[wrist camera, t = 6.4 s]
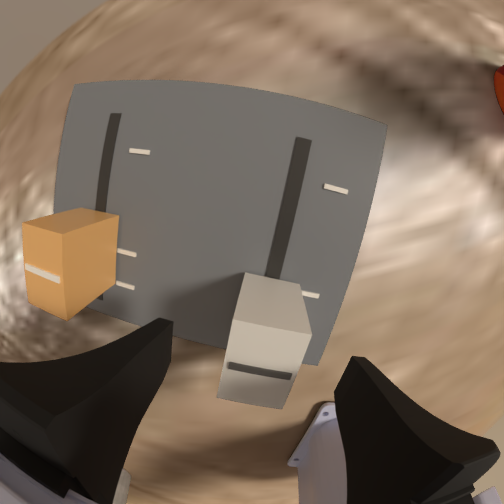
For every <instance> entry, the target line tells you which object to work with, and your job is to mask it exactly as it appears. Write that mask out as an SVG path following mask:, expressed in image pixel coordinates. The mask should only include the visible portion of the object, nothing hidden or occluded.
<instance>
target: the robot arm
mask: <svg viewBox="0 0 504 504" xmlns="http://www.w3.org/2000/svg"><path fill="white" fill-rule="evenodd" d="M173 323H174V321H170V320H167V319H163V318H160V317H159V318H157V319H155V320H153V321H152V322H150V323H148V324H146V325H144V326H143V327H141V328H139V329H137V330H135V331H134V332H132V333H130V334H128V335H126V336H124V337H122V338H120V339H118V340H116V341H113V342H111V343H109V344H107V345H105V346H102V347H100V348H97V349H94V350H91V351H88V352H85V353H82V354H79V355H75V356H70V357H66V358H61V359H57V360H50V361H43V362H31V363H6V362H0V504H113V500H114V496H115V492H116V489H117V485H118V482H119V478H120V475H121V472H122V469H123V466H124V463H125V460H126V457H127V454H128V451H129V448H130V446H131V443H132V441H133V438H134V435H135V433H136V430H137V428H138V426H139V424H140V422H141V420H142V418H143V416H144V414H145V412H146V411H147V409H148V407H149V405H150V403H151V402H152V400H153V398H154V396H155V395H156V393H157V391H158V389H159V387H160V385H161V384H162V382H163V380H164V377H165V375H166V372H167V370H168V367H169V364H170V362H171V349H172V335H173ZM334 398H335V403H331V402H327V403H324V404H323V405H322V406H321V407H320V409H319V411H318V413H317V414H316V416H315V418H314V420H313V421H312V423H311V425H310V427H309V428H308V430H307V432H306V433H305V435H304V437H303V438H302V440H301V442H300V443H299V445H298V446H297V448H296V450H295V451H294V453H293V454H292V456H291V457H290V459H289V460H288V466H291V467H298V489H299V504H502V502H501V500H500V497H499V495H498V493H497V490H496V488H495V486H493V487H491V488H489V489H487V490H485V491H483V492H481V493H480V494H478V495H476V496H475V497H473V498H472V496H471V494H470V493H472V492H473V491H474V490H475V488H474V486H473V483H474V482H476V481H477V480H478V479H479V478H480V477H481V476H482V475H484V474H485V473H486V472H487V471H488V470H489V469H490V468H491V467H492V466H493V465H494V464H495V463H496V461H497V460H498V459H499V457H500V451H499V449H498V447H497V446H496V444H495V442H494V441H493V440H491V439H487V438H483V437H480V436H476V435H473V434H470V433H468V432H465V431H463V430H460V429H458V428H456V427H454V426H452V425H450V424H448V423H446V422H444V421H442V420H440V419H439V418H437V417H435V416H434V415H432V414H431V413H429V412H428V411H426V410H425V409H423V408H422V407H421V406H419V405H418V404H417V403H415V402H414V401H413V400H412V399H410V398H409V397H408V396H407V395H406V394H404V393H403V392H402V391H401V390H400V389H399V388H398V387H397V386H396V385H394V384H393V383H392V382H391V381H390V380H389V379H388V378H387V377H386V376H385V375H384V374H383V373H382V372H381V371H380V370H379V369H378V368H377V367H375V366H374V365H373V364H372V363H371V362H370V361H369V360H367V359H366V358H365V357H357V356H352V357H351V359H350V361H349V363H348V365H347V367H346V369H345V371H344V373H343V375H342V377H341V379H340V381H339V383H338V385H337V387H336V389H335V391H334ZM324 412H325V413H324Z"/></svg>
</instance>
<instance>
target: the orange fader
mask: <svg viewBox="0 0 504 504" xmlns="http://www.w3.org/2000/svg"><path fill="white" fill-rule="evenodd" d="M118 224H119V215H115V214H110V213H105V212H100V211H95V210H91V209H86V208H77V209H73V210H68V211H64V212H60V213H56V214H52V215H49V216H45V217H41V218H37V219H34V220H30V221H27V222H23V223H22V232H23V256H24V269H25V279H26V287H27V294H28V301H29V303H30V304H32V305H34V306H36V307H38V308H40V309H42V310H44V311H46V312H48V313H50V314H52V315H55V316H57V317H59V318H61V319H63V320H65V321H68V320H69V319H71V318H72V317H73V316H74V315H76V314H77V313H78V312H79V311H81V310H82V309H83V308H84V307H86V306H87V305H88V304H89V303H91V302H92V301H93V300H95V299H96V298H97V297H98V296H100V295H101V294H102V293H104V292H105V291H106V290H108V289H109V288H110V287H111V286H113V285H114V284H115V279H116V252H117V236H118Z"/></svg>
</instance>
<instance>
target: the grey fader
mask: <svg viewBox="0 0 504 504" xmlns="http://www.w3.org/2000/svg"><path fill="white" fill-rule="evenodd" d="M311 337H312V332H311V328H310V324H309V319H308V315H307V311H306V307H305V303H304V299H303V295H302V291H301V287H300V284H297V283H292V282H287V281H283V280H278V279H273V278H269V277H264V276H259V275H255V274H250V273H246V272H245V275H244V279H243V282H242V286H241V290H240V294H239V298H238V301H237V305H236V309H235V313H234V316H233V320H232V325H231V330H230V335H229V340H228V345H227V349H226V354H225V359H224V364H223V369H222V374H221V379H220V383H219V388H218V393H217V398H221V399H225V400H230V401H235V402H240V403H245V404H251V405H257V406H263V407H269V408H276V409H282V408H283V406H284V404H285V402H286V399H287V397H288V395H289V392H290V390H291V388H292V385H293V383H294V380H295V378H296V375H297V373H298V370H299V368H300V365H301V363H302V360H303V358H304V355H305V353H306V350H307V347H308V345H309V342H310V339H311Z"/></svg>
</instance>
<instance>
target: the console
mask: <svg viewBox="0 0 504 504" xmlns="http://www.w3.org/2000/svg"><path fill="white" fill-rule="evenodd" d="M386 132H387V125H386V124H383V123H381V122H378V121H375V120H372V119H370V118H367V117H364V116H361V115H358V114H355V113H352V112H349V111H346V110H342V109H339V108H336V107H332V106H329V105H325V104H322V103H318V102H314V101H310V100H306V99H302V98H298V97H293V96H289V95H284V94H279V93H274V92H269V91H264V90H258V89H252V88H246V87H239V86H232V85H224V84H215V83H205V82H192V81H175V80H119V81H103V82H91V83H81V84H75V85H74V88H73V92H72V95H71V99H70V103H69V107H68V111H67V116H66V120H65V125H64V130H63V135H62V140H61V146H60V152H59V159H58V167H57V175H56V185H55V197H54V214H56V213H60V212H64V211H68V210H73V209H77V208H86V209H91V210H95V211H100V212H105V213H110V214H115V215H119V224H118V236H117V252H116V279H115V284H114V285H113V286H111V287H110V288H109V289H108V290H106V291H105V292H104V293H102V294H101V295H100V296H98V297H97V298H96V299H95V300H93V301H92V302H91V303H89V304H88V305H87V306H86V307H87V308H90V309H93V310H95V311H98V312H101V313H104V314H106V315H109V316H112V317H115V318H118V319H121V320H124V321H126V322H129V323H133V324H136V325H139V326H142V327H143V326H144V325H146V324H148V323H150V322H152V321H153V320H155V319H157V318H159V317H160V318H163V319H167V320H170V321H174V323H173V335H172V336H175V337H179V338H183V339H186V340H190V341H194V342H198V343H202V344H206V345H210V346H214V347H218V348H223V349H227V345H228V340H229V335H230V330H231V325H232V320H233V316H234V313H235V309H236V305H237V301H238V298H239V294H240V290H241V286H242V282H243V279H244V275H245V272H246V273H250V274H255V275H259V276H264V277H269V278H273V279H278V280H283V281H287V282H292V283H297V284H300V287H301V291H302V295H303V299H304V303H305V307H306V311H307V315H308V319H309V324H310V328H311V332H312V337H311V339H310V342H309V345H308V347H307V350H306V353H305V355H304V358H303V360H302V364H308V365H316V366H318V363H319V361H320V359H321V356H322V354H323V351H324V349H325V347H326V344H327V342H328V339H329V337H330V334H331V331H332V329H333V326H334V324H335V321H336V318H337V316H338V313H339V310H340V307H341V305H342V302H343V299H344V296H345V293H346V290H347V287H348V284H349V281H350V278H351V275H352V272H353V269H354V266H355V262H356V259H357V256H358V252H359V249H360V246H361V242H362V239H363V235H364V232H365V228H366V224H367V220H368V217H369V213H370V209H371V205H372V201H373V196H374V192H375V188H376V183H377V179H378V174H379V169H380V164H381V159H382V154H383V149H384V143H385V138H386Z"/></svg>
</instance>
